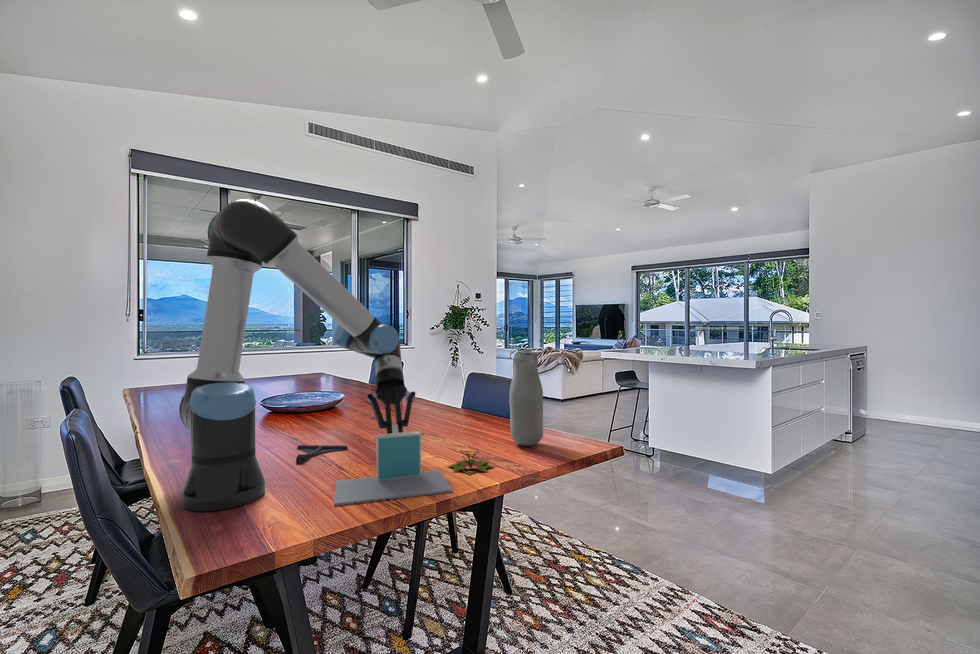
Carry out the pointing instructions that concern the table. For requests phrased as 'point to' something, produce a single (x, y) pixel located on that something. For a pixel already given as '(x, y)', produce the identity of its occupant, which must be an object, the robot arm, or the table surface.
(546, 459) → the table surface
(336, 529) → the table surface
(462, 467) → the lily flower
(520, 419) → the grey bottle
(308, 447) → the bracket
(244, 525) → the table surface
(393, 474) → the tile
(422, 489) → the mat
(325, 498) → the table surface
